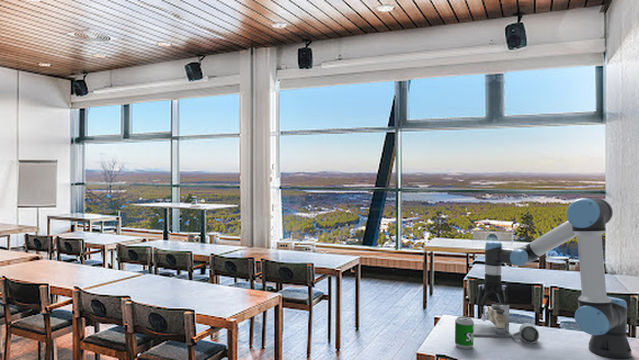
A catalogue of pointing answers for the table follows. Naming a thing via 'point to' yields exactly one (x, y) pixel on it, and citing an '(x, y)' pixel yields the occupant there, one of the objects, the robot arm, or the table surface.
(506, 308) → the block
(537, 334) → the ceramic mug
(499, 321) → the lever link
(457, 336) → the soda can
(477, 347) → the table surface
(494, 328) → the board
